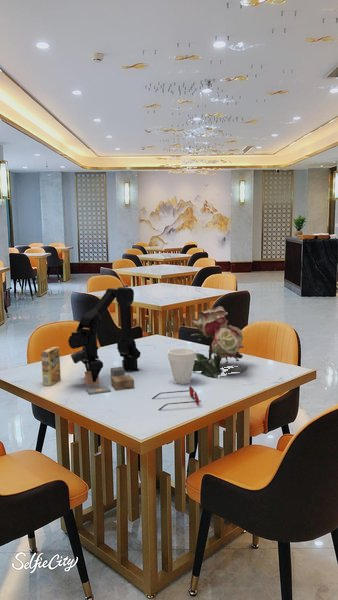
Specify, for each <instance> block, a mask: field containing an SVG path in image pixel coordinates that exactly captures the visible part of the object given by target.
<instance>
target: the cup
mask: <svg viewBox="0 0 338 600" xmlns="http://www.w3.org/2000/svg"><path fill="white" fill-rule="evenodd" d="M196 353H197V351H196V350H195V349H193V348H189V347H177V348H176V347H175V348H172V349H169V350H167V358H168V361H169V366H170V369H171V373H172V378H173V381H175V382H176V383H175V382H174V383H175V384H177V383H187V384H189V383H191V379H192V375H193V372H192V371H193V366H194V362H195V360H197V358H196ZM188 382H189V383H188Z"/></svg>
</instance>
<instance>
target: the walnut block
mask: <svg viewBox="0 0 338 600" xmlns="http://www.w3.org/2000/svg"><path fill="white" fill-rule="evenodd" d="M110 380H111V382H110V384H111V387H112V388H113V389H114V390H115V391H121V390H122V391H123V390H130V389H135V379H134V378H133V377H132V376H131V375H130V374H126V375H122V376H112V377H111V376H110Z"/></svg>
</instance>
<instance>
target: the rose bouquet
mask: <svg viewBox="0 0 338 600" xmlns="http://www.w3.org/2000/svg"><path fill="white" fill-rule="evenodd" d="M228 314H229V312H227V311H226V310H225V308H224V307H223V306H221V305H218V306H217V307H211V308H208V309H206V310H205V311H202V312H201V311H199V312H198V316H199V317H200V318H199V319H198V320H191V322H193V323H194V326H195V327H196V328H197V330H199V332H201V333H193V334H190V337H204V339H209V340H210V343H209V344H210V345H209V346H208V356H205V355H204V354H202V353H199V352H196V359H195V362H194V366H193V371H202V372H201V373H200V374H201V375H204V376H207V377H213V378H216V379H219V378H218V375H219V374H220V372H221V370H220V368H222V367H223V368H224V367H227V366H230V365H231V364H230V363H228V362H229V361H228V359H229V358H231V359H232V358H233V359H235V361H236V362H240V360H239V359H242V358H243V354H242V353H241V352H239V350H240V349H242V348H243V349H244V344H243V343H242V342H243V339H244V338H243V337H244V336H243V331H242V330H241V329H240V327H237V326H234V325H233V326H232V325H231V324H229V325H228V323H229V320H228V319H226V317H227V315H228ZM197 341H202V338H198V339H197ZM212 355H214V356H212ZM224 358H225V360H226V362H224V363H223V362H222V359H224ZM221 362H222V363H223V364H222V363H221ZM237 366H238V367H234V366H233V367H234V368H230V369H228V368H224V369H228V371H226V372H224V373H225V374H226V373H227V374H228V373H231V372H241V373H242V372H244V371H245V370H246V369H247V368H248V367H247V366H243V367H242V366H241V365H237ZM219 371H220V372H219ZM228 375H229V374H228Z"/></svg>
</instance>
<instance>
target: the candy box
mask: <svg viewBox="0 0 338 600" xmlns="http://www.w3.org/2000/svg"><path fill="white" fill-rule="evenodd" d="M40 352H41V353H40V355H41V370H42V385H43V386H53V385H54V384H56V383H59V382H60V381H61V380H62V375H61V360H60V359H61V358H60V355H61V354H60V347H59V346H50V347H48V348H46V349H44V350H41V351H40Z"/></svg>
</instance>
